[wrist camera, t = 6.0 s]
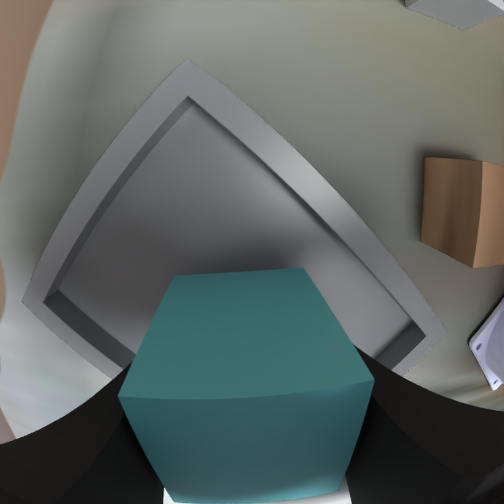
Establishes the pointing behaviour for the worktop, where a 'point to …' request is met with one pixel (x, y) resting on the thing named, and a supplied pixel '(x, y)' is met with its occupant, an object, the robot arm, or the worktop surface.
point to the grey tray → (213, 231)
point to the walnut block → (464, 210)
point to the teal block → (246, 389)
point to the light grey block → (458, 11)
